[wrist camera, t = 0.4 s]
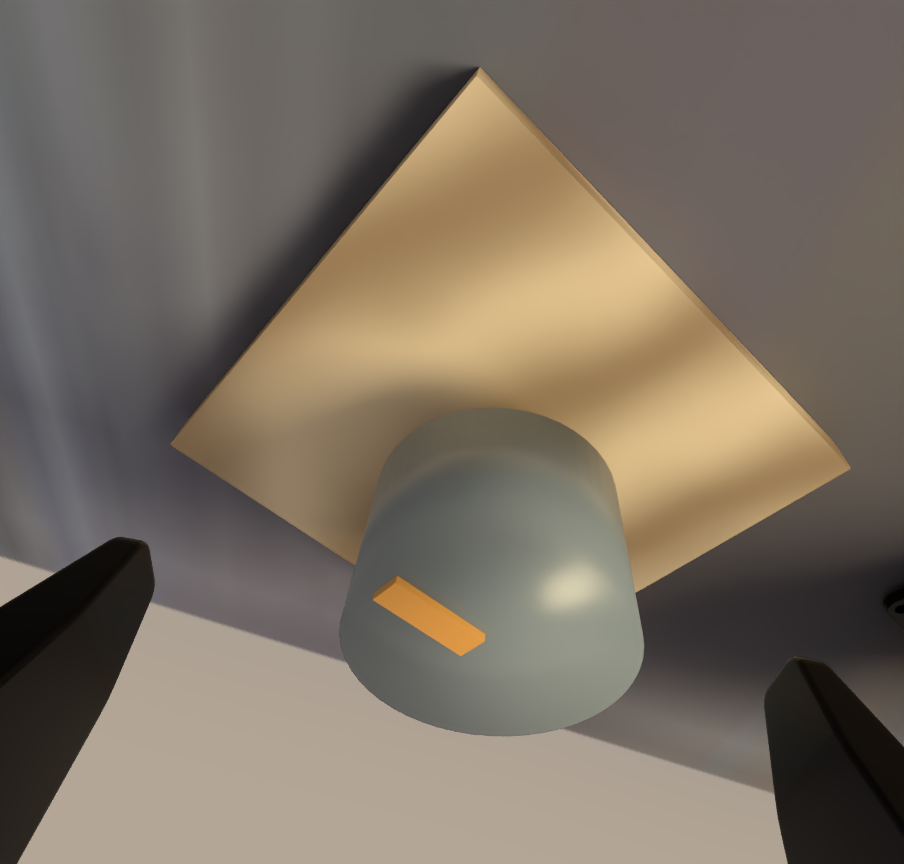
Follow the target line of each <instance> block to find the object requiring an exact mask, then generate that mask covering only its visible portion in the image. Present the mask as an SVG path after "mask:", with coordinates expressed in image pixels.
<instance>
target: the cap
mask: <svg viewBox="0 0 904 864" xmlns="http://www.w3.org/2000/svg"><path fill="white" fill-rule="evenodd" d="M339 635H340V643H341V648H342V651H343V654H344V657H345V660H346V661H347V663H348V665H349V667H350V668H351V670H352V672H353V673H354V675H355V676H356V677H357V679H358V680H359V681H360V682H361V683H362V684H363V685H364V686H365V687H366V688H367V689H368V690H369V691H370V692H371V693H372V694H373V695H375V696H376V697H377V698H378V699H380V700H381V701H383V702H384V703H386V704H387V705H389V706H390V707H392V708H393V709H395V710H397V711H399V712H401V713H403V714H405V715H407V716H409V717H411V718H414V719H416V720H418V721H421V722H424V723H427V724H429V725H433V726H436V727H439V728H443V729H447V730H452V731H455V732H461V733H467V734H474V735H486V736H520V735H530V734H538V733H544V732H549V731H553V730H558V729H562V728H565V727H568V726H571V725H574V724H577V723H579V722H582V721H584V720H586V719H589V718H591V717H593V716H594V715H596V714H598V713H600V712H602V711H603V710H605V709H606V708H608V707H609V706H610V705H612V704H613V703H614V702H616V701H617V700H618V699H619V698H620V697H621V696H622V695H623V694H624V693H625V692H626V691H627V690H628V688H629V687H630V686H631V684H632V683H633V682H634V680H635V678H636V676H637V674H638V672H639V670H640V667H641V664H642V660H643V655H644V639H643V632H642V626H641V621H640V616H639V610H638V605H637V599H636V594H635V588H634V583H633V578H632V572H631V567H630V561H629V556H628V550H627V545H626V539H625V534H624V529H623V523H622V518H621V512H620V507H619V501H618V496H617V491H616V485H615V482H614V479H613V476H612V473H611V471H610V469H609V467H608V466H607V464H606V462H605V460H604V459H603V458H602V456H601V455H600V454H599V452H598V451H597V450H596V449H595V448H594V447H593V446H592V445H591V444H590V443H589V442H588V441H587V440H586V439H585V438H583V437H582V436H581V435H579V434H578V433H577V432H575V431H574V430H572V429H570V428H569V427H567V426H565V425H563V424H562V423H560V422H557V421H555V420H553V419H550V418H548V417H545V416H542V415H539V414H535V413H532V412H528V411H523V410H517V409H511V408H494V407H493V408H475V409H469V410H463V411H458V412H455V413H451V414H448V415H444V416H441V417H439V418H437V419H434V420H432V421H430V422H428V423H426V424H424V425H422V426H421V427H419V428H417V429H415V430H414V431H413V432H412V433H410V434H409V435H408V436H406V437H405V438H404V439H403V440H402V441H401V442H400V443H399V444H398V445H397V446H396V447H395V448H394V449H393V451H392V452H391V454H390V455H389V457H388V458H387V459H386V461H385V464H384V466H383V468H382V470H381V473H380V476H379V480H378V483H377V487H376V491H375V494H374V498H373V502H372V505H371V509H370V513H369V517H368V520H367V524H366V528H365V532H364V535H363V539H362V543H361V546H360V550H359V554H358V558H357V561H356V565H355V569H354V572H353V576H352V580H351V584H350V587H349V591H348V595H347V598H346V602H345V606H344V610H343V613H342V617H341V621H340V632H339Z"/></svg>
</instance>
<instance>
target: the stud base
mask: <svg viewBox="0 0 904 864" xmlns="http://www.w3.org/2000/svg"><path fill="white" fill-rule="evenodd" d="M493 407H494V408H511V409H517V410H523V411H528V412H532V413H535V414H539V415H542V416H545V417H548V418H550V419H553V420H555V421H557V422H560V423H562V424H563V425H565V426H567V427H569V428H570V429H572V430H574V431H575V432H577V433H578V434H579V435H581V436H582V437H583V438H585V439H586V440H587V441H588V442H589V443H590V444H591V445H592V446H593V447H594V448H595V449H596V450H597V451H598V452H599V454H600V455H601V456H602V458H603V459H604V460H605V462H606V464H607V466H608V467H609V469H610V471H611V473H612V476H613V479H614V482H615V485H616V491H617V496H618V501H619V507H620V512H621V518H622V523H623V529H624V534H625V539H626V545H627V550H628V556H629V561H630V567H631V572H632V578H633V583H634V588H635V593H636V592H638V591H640V590H641V589H643V588H645V587H647V586H648V585H650V584H652V583H654V582H655V581H657V580H659V579H660V578H662V577H664V576H666V575H667V574H669V573H671V572H673V571H674V570H676V569H678V568H680V567H681V566H683V565H685V564H686V563H688V562H690V561H692V560H693V559H695V558H697V557H699V556H700V555H702V554H704V553H706V552H707V551H709V550H711V549H712V548H714V547H716V546H718V545H719V544H721V543H723V542H725V541H726V540H728V539H730V538H732V537H733V536H735V535H737V534H738V533H740V532H742V531H744V530H745V529H747V528H749V527H751V526H752V525H754V524H756V523H758V522H759V521H761V520H763V519H765V518H766V517H768V516H770V515H771V514H773V513H775V512H777V511H778V510H780V509H782V508H784V507H785V506H787V505H789V504H791V503H792V502H794V501H796V500H797V499H799V498H801V497H803V496H804V495H806V494H808V493H810V492H811V491H813V490H815V489H817V488H818V487H820V486H822V485H823V484H825V483H827V482H829V481H830V480H832V479H834V478H836V477H837V476H839V475H841V474H843V473H844V472H846V471H848V470H849V469H851V468H850V466H849V465H848V463H847V461H846V460H845V458H844V457H843V455H842V454H841V452H840V451H839V449H838V448H837V446H836V445H835V443H834V442H833V440H832V439H831V438H830V437H829V436H828V435H827V434H826V433H825V432H824V431H823V429H822V428H821V427H820V426H819V425H818V424H817V423H816V422H815V421H814V420H813V419H812V418H811V417H810V416H809V415H808V414H807V413H806V411H805V410H804V409H803V408H802V407H801V406H800V405H799V404H798V403H797V402H796V401H795V400H794V399H793V398H792V397H791V396H790V395H789V394H788V392H787V391H786V390H785V389H784V388H783V387H782V386H781V385H780V384H779V383H778V382H777V381H776V380H775V379H774V378H773V377H772V376H771V374H770V373H769V372H768V371H767V370H766V369H765V368H764V367H763V366H762V365H761V364H760V363H759V362H758V361H757V360H756V359H755V358H754V356H753V355H752V354H751V353H750V352H749V351H748V350H747V349H746V348H745V347H744V346H743V345H742V344H741V343H740V342H739V341H738V340H737V338H736V337H735V336H734V335H733V334H732V333H731V332H730V331H729V330H728V329H727V328H726V327H725V326H724V325H723V324H722V323H721V322H720V321H719V319H718V318H717V317H716V316H715V315H714V314H713V313H712V312H711V311H710V310H709V309H708V308H707V307H706V306H705V305H704V304H703V303H702V301H701V300H700V299H699V298H698V297H697V296H696V295H695V294H694V293H693V292H692V291H691V290H690V289H689V288H688V287H687V286H686V285H685V283H684V282H683V281H682V280H681V279H680V278H679V277H678V276H677V275H676V274H675V273H674V272H673V271H672V270H671V269H670V268H669V267H668V265H667V264H666V263H665V262H664V261H663V260H662V259H661V258H660V257H659V256H658V255H657V254H656V253H655V252H654V251H653V250H652V249H651V247H650V246H649V245H648V244H647V243H646V242H645V241H644V240H643V239H642V238H641V237H640V236H639V235H638V234H637V233H636V232H635V231H634V230H633V228H632V227H631V226H630V225H629V224H628V223H627V222H626V221H625V220H624V219H623V218H622V217H621V216H620V215H619V214H618V213H617V212H616V210H615V209H614V208H613V207H612V206H611V205H610V204H609V203H608V202H607V201H606V200H605V199H604V198H603V197H602V196H601V195H600V194H599V192H598V191H597V190H596V189H595V188H594V187H593V186H592V185H591V184H590V183H589V182H588V181H587V180H586V179H585V178H584V177H583V176H582V174H581V173H580V172H579V171H578V170H577V169H576V168H575V167H574V166H573V165H572V164H571V163H570V162H569V161H568V160H567V159H566V158H565V157H564V155H563V154H562V153H561V152H560V151H559V150H558V149H557V148H556V147H555V146H554V145H553V144H552V143H551V142H550V141H549V140H548V139H547V137H546V136H545V135H544V134H543V133H542V132H541V131H540V130H539V129H538V128H537V127H536V126H535V125H534V124H533V123H532V122H531V121H530V119H529V118H528V117H527V116H526V115H525V114H524V113H523V112H522V111H521V110H520V109H519V108H518V107H517V106H516V105H515V104H514V103H513V101H512V100H511V99H510V98H509V97H508V96H507V95H506V94H505V93H504V92H503V91H502V90H501V89H500V88H499V87H498V86H497V85H496V83H495V82H494V81H493V80H492V79H491V78H490V77H489V76H488V75H487V74H486V73H485V72H484V71H483V70H482V69H481V68H480V67H479V68H478V70H477V71H476V72H475V73H474V74H473V76H472V77H471V78H470V79H469V80H468V82H467V83H466V84H465V85H464V86H463V88H462V89H461V90H460V91H459V92H458V94H457V95H456V96H455V97H454V99H453V100H452V101H451V102H450V103H449V105H448V106H447V107H446V108H445V109H444V111H443V112H442V113H441V114H440V115H439V117H438V118H437V119H436V120H435V121H434V123H433V124H432V125H431V126H430V128H429V129H428V130H427V131H426V132H425V134H424V135H423V136H422V137H421V138H420V140H419V141H418V142H417V143H416V144H415V146H414V147H413V148H412V149H411V150H410V152H409V153H408V154H407V155H406V157H405V158H404V159H403V160H402V161H401V163H400V164H399V165H398V166H397V167H396V169H395V170H394V171H393V172H392V173H391V175H390V176H389V177H388V178H387V179H386V181H385V182H384V183H383V184H382V186H381V187H380V188H379V189H378V190H377V192H376V193H375V194H374V195H373V196H372V198H371V199H370V200H369V201H368V202H367V204H366V205H365V206H364V207H363V208H362V210H361V211H360V212H359V213H358V215H357V216H356V217H355V218H354V219H353V221H352V222H351V223H350V224H349V225H348V227H347V228H346V229H345V230H344V231H343V233H342V234H341V235H340V236H339V237H338V239H337V240H336V241H335V242H334V244H333V245H332V246H331V247H330V248H329V250H328V251H327V252H326V253H325V254H324V256H323V257H322V258H321V259H320V260H319V262H318V263H317V264H316V265H315V266H314V268H313V269H312V270H311V271H310V273H309V274H308V275H307V276H306V277H305V279H304V280H303V281H302V282H301V283H300V285H299V286H298V287H297V288H296V289H295V291H294V292H293V293H292V294H291V295H290V297H289V298H288V299H287V300H286V302H285V303H284V304H283V305H282V306H281V308H280V309H279V310H278V311H277V312H276V314H275V315H274V316H273V317H272V318H271V320H270V321H269V322H268V323H267V324H266V326H265V327H264V328H263V329H262V330H261V332H260V333H259V334H258V335H257V337H256V338H255V339H254V340H253V341H252V343H251V344H250V345H249V346H248V347H247V349H246V350H245V351H244V352H243V353H242V355H241V356H240V357H239V358H238V359H237V361H236V362H235V363H234V364H233V366H232V367H231V368H230V369H229V370H228V372H227V373H226V374H225V375H224V376H223V378H222V379H221V380H220V381H219V382H218V384H217V385H216V386H215V387H214V388H213V390H212V391H211V392H210V393H209V395H208V396H207V397H206V398H205V399H204V401H203V402H202V403H201V404H200V405H199V407H198V408H197V409H196V410H195V411H194V413H193V414H192V415H191V416H190V417H189V419H188V420H187V421H186V423H185V424H184V426H183V427H182V428H181V430H180V431H179V432H178V434H177V435H176V437H175V438H174V439H173V441H172V442H171V444H170V445H171V446H173V447H174V448H176V449H177V450H179V451H180V452H182V453H183V454H185V455H186V456H188V457H189V458H191V459H193V460H194V461H196V462H197V463H199V464H200V465H202V466H203V467H205V468H206V469H208V470H209V471H211V472H212V473H214V474H215V475H217V476H219V477H220V478H222V479H223V480H225V481H226V482H228V483H229V484H231V485H232V486H234V487H235V488H237V489H238V490H240V491H241V492H243V493H245V494H246V495H248V496H249V497H251V498H252V499H254V500H255V501H257V502H258V503H260V504H261V505H263V506H264V507H266V508H268V509H269V510H271V511H272V512H274V513H275V514H277V515H278V516H280V517H281V518H283V519H284V520H286V521H287V522H289V523H290V524H292V525H294V526H295V527H297V528H298V529H300V530H301V531H303V532H304V533H306V534H307V535H309V536H310V537H312V538H313V539H315V540H316V541H318V542H320V543H321V544H323V545H324V546H326V547H327V548H329V549H330V550H332V551H333V552H335V553H336V554H338V555H339V556H341V557H343V558H344V559H346V560H347V561H349V562H350V563H352V564H353V565H356V561H357V558H358V554H359V550H360V546H361V543H362V539H363V535H364V532H365V528H366V524H367V520H368V517H369V513H370V509H371V505H372V502H373V498H374V494H375V491H376V487H377V483H378V480H379V476H380V473H381V470H382V468H383V466H384V464H385V461H386V459H387V458H388V457H389V455H390V454H391V452H392V451H393V449H394V448H395V447H396V446H397V445H398V444H399V443H400V442H401V441H402V440H403V439H404V438H405V437H406V436H408V435H409V434H410V433H412V432H413V431H414V430H415V429H417V428H419V427H421V426H422V425H424V424H426V423H428V422H430V421H432V420H434V419H437V418H439V417H441V416H444V415H448V414H451V413H455V412H458V411H463V410H469V409H475V408H493Z"/></svg>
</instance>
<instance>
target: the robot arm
mask: <svg viewBox="0 0 904 864" xmlns="http://www.w3.org/2000/svg"><path fill="white" fill-rule="evenodd" d="M154 587H155V579H154V573H153V567H152V561H151V555H150V550H149V546H148V545H147V543H146V542H144V541H142V540H136V539H130V538H125V537H116V538H113V539H111V540H109V541H108V542H106V543H104V544H103V545H101V546H99V547H98V548H96V549H94V550H93V551H91V552H90V553H88V554H86V555H85V556H83V557H81V558H80V559H78V560H76V561H75V562H73V563H71V564H70V565H68V566H67V567H65V568H63V569H62V570H60V571H58V572H57V573H55V574H53V575H52V576H50V577H49V578H47V579H45V580H44V581H42V582H40V583H39V584H37V585H35V586H34V587H32V588H30V589H29V590H27V591H26V592H24V593H23V594H21V595H19V596H17V597H16V598H14V599H12V600H11V601H9V602H8V603H6V604H4V605H3V606H1V607H0V864H17V863H18V861H19V859H20V857H21V855H22V854H23V852H24V850H25V848H26V847H27V845H28V843H29V841H30V840H31V838H32V836H33V834H34V832H35V831H36V829H37V827H38V825H39V823H40V822H41V820H42V818H43V816H44V814H45V813H46V811H47V809H48V807H49V806H50V804H51V802H52V800H53V798H54V797H55V795H56V793H57V791H58V789H59V787H60V786H61V784H62V782H63V780H64V779H65V777H66V775H67V773H68V771H69V770H70V768H71V766H72V764H73V762H74V761H75V759H76V757H77V755H78V754H79V752H80V750H81V748H82V746H83V745H84V743H85V741H86V739H87V737H88V736H89V734H90V732H91V730H92V728H93V727H94V725H95V723H96V721H97V719H98V718H99V716H100V714H101V712H102V710H103V708H104V706H105V704H106V703H107V701H108V699H109V696H110V694H111V692H112V690H113V688H114V685H115V683H116V681H117V679H118V676H119V674H120V672H121V669H122V667H123V665H124V662H125V660H126V657H127V655H128V653H129V650H130V648H131V645H132V643H133V641H134V639H135V636H136V634H137V631H138V629H139V627H140V624H141V622H142V620H143V617H144V615H145V613H146V610H147V608H148V606H149V603H150V601H151V598H152V596H153V592H154ZM883 605H884V607H885V609H886V610H887V612H888V614H889V615H890V616H891V617H892V618H893V619H894V620H895V621H896V622H897V623H898V624H899V625H900V626H901V627H902V628H903V629H904V588H903V589H901V590H899V591H897V592H894V593H892V594H890V595H889V596H887V597H886V598H885V599H884V600H883ZM764 709H765V718H766V726H767V735H768V743H769V751H770V760H771V768H772V777H773V785H774V793H775V801H776V808H777V815H778V820H779V825H780V830H781V835H782V840H783V844H784V849H785V853H786V857H787V862H788V864H904V747H903V746H902V744H901V743H900V742H899V741H898V740H897V739H896V738H895V737H894V736H893V735H892V734H891V733H890V732H889V731H888V729H887V728H886V727H885V726H884V725H883V724H882V723H881V722H880V721H879V720H878V719H877V718H876V717H875V715H874V714H873V713H872V712H871V711H870V710H869V709H868V708H867V707H866V706H865V705H864V704H863V703H862V702H861V700H860V699H859V698H858V697H857V696H856V695H855V694H854V693H853V692H852V691H851V690H850V689H849V688H848V687H847V685H846V684H845V683H844V682H843V681H842V680H841V679H840V678H839V677H838V676H837V675H836V674H835V673H834V672H833V670H832V669H831V668H830V667H829V666H828V665H826V664H825V663H824V662H821V661H819V660H814V659H808V658H803V657H792V658H790V659H788V660H787V662H786V663H785V664H784V666H783V667H782V669H781V670H780V671H779V673H778V674H777V676H776V677H775V679H774V680H773V681H772V683H771V684H770V686H769V687H768V689H767V691H766V694H765V699H764Z"/></svg>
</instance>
